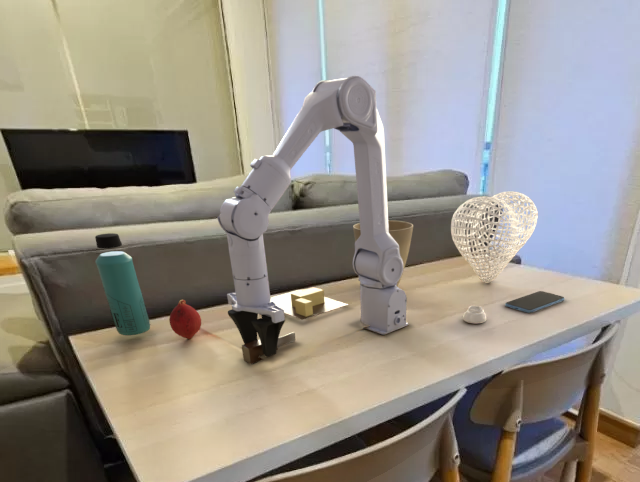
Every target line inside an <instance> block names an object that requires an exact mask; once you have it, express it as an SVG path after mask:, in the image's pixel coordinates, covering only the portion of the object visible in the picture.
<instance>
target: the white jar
mask: <svg viewBox="0 0 640 482" xmlns="http://www.w3.org/2000/svg"><path fill="white" fill-rule="evenodd" d="M487 318H488V317H487V315H486V312H485V311H484V308H483V306H480V305H469V306H468V309H466V311H465V312H464V314H463V316H462V320H463V321H464V322H466V323H468V324H474V325H476V324H479V325H480V324H483V323H485V322H487Z"/></svg>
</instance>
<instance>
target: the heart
mask: <svg viewBox="0 0 640 482" xmlns="http://www.w3.org/2000/svg"><path fill="white" fill-rule="evenodd" d="M511 201H512V202H511ZM525 204H526V205H525ZM497 206H498V207H497ZM502 209H503V210H502ZM495 211H496V212H495ZM486 214H487V215H486ZM496 218H497V219H498V221H495V219H496ZM538 218H539V213H538V208H537V206H536V205H535V203H534V201H533V200H532V199H531V198H530V197H529V196H528V195H526V194H524V193H522V192H519V191H512V190H511V191H510V190H509V191H508V190H507V191H502V192H499V193H496V194H494V195H492V196H486V195H485V196H484V195H483V196H475V197H472V198H470V199H467V200H465V201H464V202H463V203H461V204H460V205H459V206H458V207H457V209H455V211H454V213H453V215H452V217H451V220H450V221H451V222H450V233H451V239H452V241H453V244H454V245H455V248H456V249H457V250H458V252H459V254H460V255H461V257H462V258H463V259H464V260H465V261H466V262H467V264H468V265H469V266H470V268H471V269H472V270H473V272H474V273H475V275H476V277H478V279H479V280H480V281H481V282H483V283H485V284H490V283H491V282H493V281H495V280H496V279H497V278H498V277H499V275H501V273H502V272H503V271H504V269H505V268H506V267H507V266H508V264H509V263H510V262H511V261H512V259H514V257H515V256H516V255H517V254H518V252H519V251H520V250H521V249H522V248H523V247H524V246H525V245H526V243H527V242H528V241H529V239H530V238H531V237H532V235H533V233H534V232H535V229H536V226H537V223H538ZM490 219H491V220H490ZM483 223H484V224H483ZM494 226H496V227H494ZM499 227H501V228H499ZM493 230H494V231H493ZM499 231H500V232H499ZM484 235H485V236H484ZM491 236H493V237H491ZM492 242H493V243H492ZM485 243H486V244H487V245H486V244H485ZM490 248H491V249H490ZM471 250H472V251H471ZM488 258H489V259H488Z"/></svg>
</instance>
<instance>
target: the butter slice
mask: <svg viewBox="0 0 640 482" xmlns="http://www.w3.org/2000/svg"><path fill="white" fill-rule="evenodd" d="M295 309H296V313H297V314H300V315H303V316H305V317H307V316H310V315H313V308H312V301H309V300H306V299H303V298H300V299H296V300H295Z"/></svg>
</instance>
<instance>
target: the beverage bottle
mask: <svg viewBox="0 0 640 482" xmlns="http://www.w3.org/2000/svg"><path fill="white" fill-rule="evenodd" d="M94 239H95V243H96V248H97V249H115V248H119V247H122V246H123V243H122V241H121V237H120V235H119V234H118V233H113V232H110V233H109V232H108V233H100V234H96V235H95V236H94ZM95 265H96V267H97V271H98V274H99V277H100V280H101V284H102V289H103V291H104V294H105V296H106V302H107V304H108V307H109V312H110V315H111V318H112V322H113V325H114V327H115V328H114V329H115V330H116V331H117V333H118V334H119V335H121V336H135V335H136V336H137V335H141V334H145V333H146V332H148V331H149V330H151V325H152V323H151V321H150V318H149V313H148V308H147V307H146V303H145V299H144V296H143V295H144V294H143V292H142V288H141V286H140V284H139V280H138V277H137V272H136V269H135V265H134V261H133V257H132V256H131V255H130V254H128V253H126V252H125V251H123V250H122V251H121V250H119V251H118V250H115V251H114V250H113V251H106V252H103V253H99V255H98V256H97V258H96V259H95Z"/></svg>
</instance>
